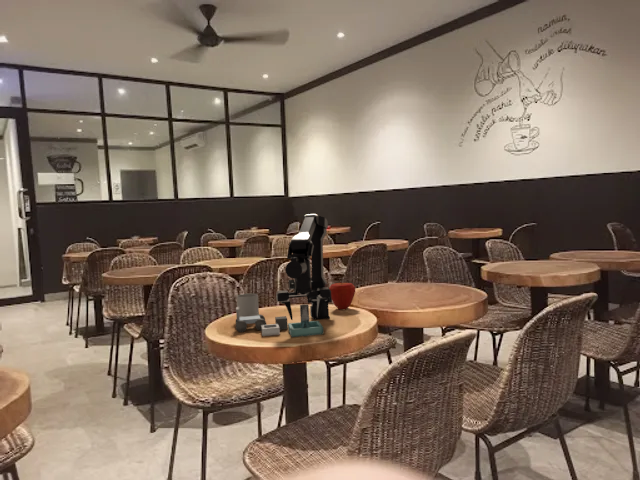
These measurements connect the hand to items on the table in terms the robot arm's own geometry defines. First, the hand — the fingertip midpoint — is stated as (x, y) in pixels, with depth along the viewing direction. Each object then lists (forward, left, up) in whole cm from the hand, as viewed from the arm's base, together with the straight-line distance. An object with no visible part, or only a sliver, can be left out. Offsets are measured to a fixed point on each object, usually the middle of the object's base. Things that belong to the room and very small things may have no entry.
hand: (304, 318), depth 169 cm
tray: (0, 0, -5) cm, 5 cm away
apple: (-21, -34, -5) cm, 40 cm away
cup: (+19, -28, -5) cm, 34 cm away
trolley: (+18, -13, -5) cm, 23 cm away
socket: (+12, -3, -5) cm, 13 cm away
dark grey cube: (+8, -9, -5) cm, 13 cm away
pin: (0, 0, -4) cm, 4 cm away
